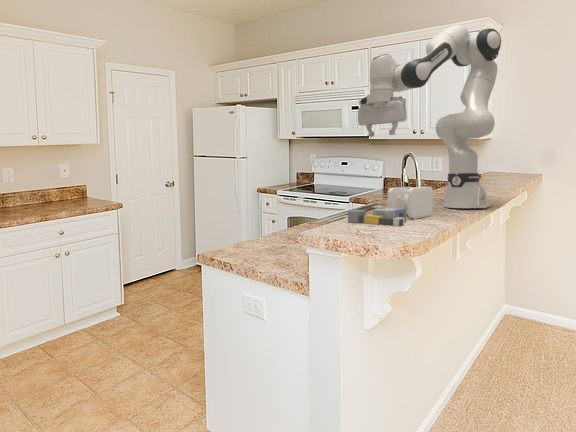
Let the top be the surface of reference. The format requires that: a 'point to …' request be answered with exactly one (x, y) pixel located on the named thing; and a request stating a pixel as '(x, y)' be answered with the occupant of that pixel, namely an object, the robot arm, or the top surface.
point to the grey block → (355, 216)
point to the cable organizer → (412, 200)
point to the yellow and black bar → (382, 220)
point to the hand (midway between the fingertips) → (381, 135)
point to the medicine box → (390, 213)
